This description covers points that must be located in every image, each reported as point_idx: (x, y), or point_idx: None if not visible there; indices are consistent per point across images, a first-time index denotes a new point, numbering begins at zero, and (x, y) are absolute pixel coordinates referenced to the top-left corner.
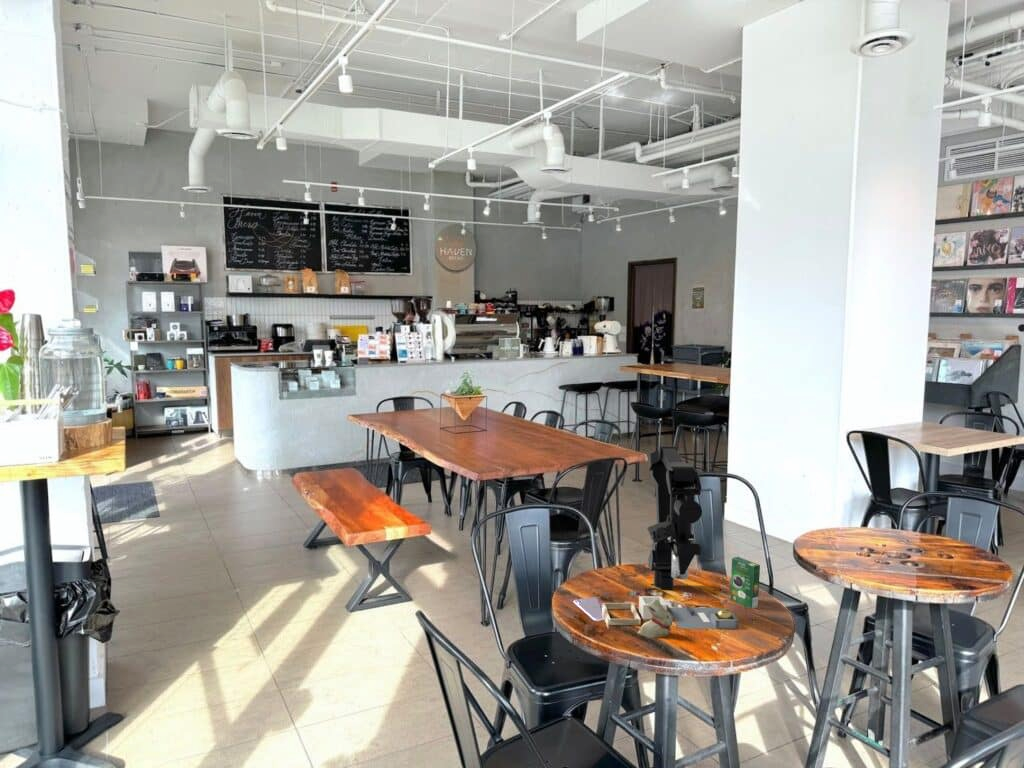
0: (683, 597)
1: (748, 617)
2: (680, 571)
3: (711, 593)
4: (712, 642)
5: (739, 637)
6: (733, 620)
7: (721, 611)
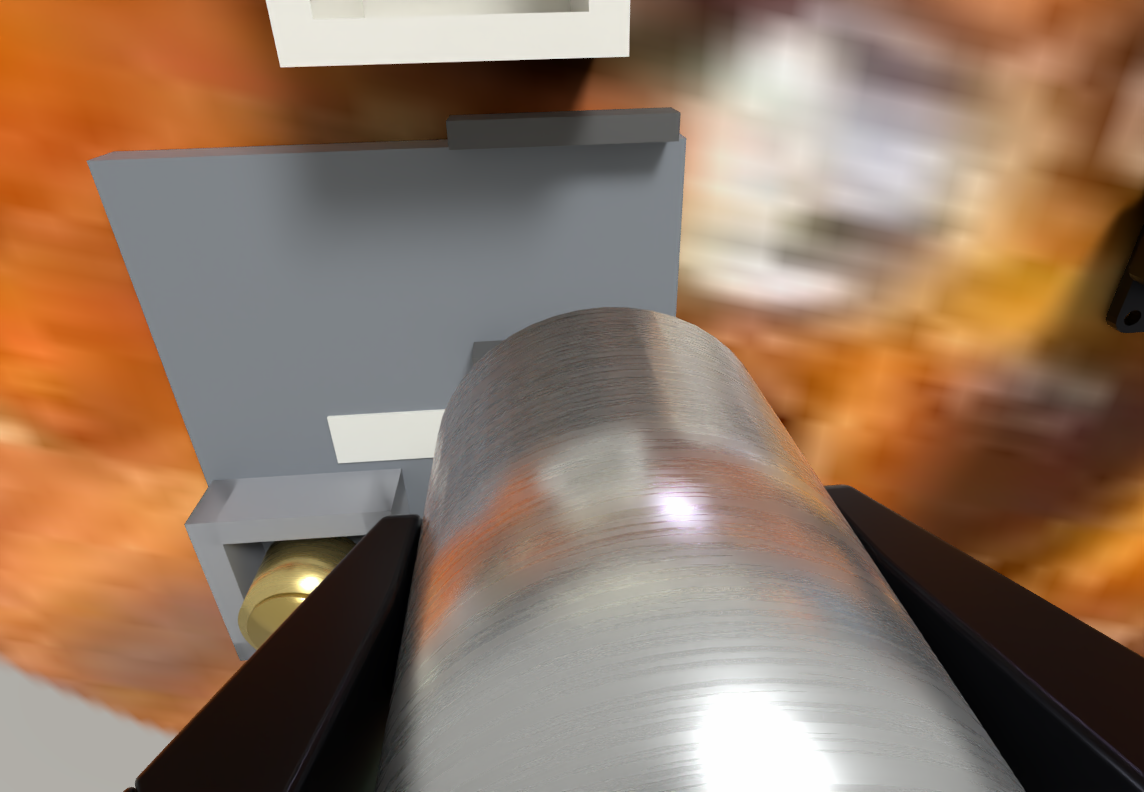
0: (991, 357)
1: None
2: (337, 571)
3: (1002, 557)
4: (13, 397)
5: (193, 577)
6: (230, 631)
7: (257, 609)
